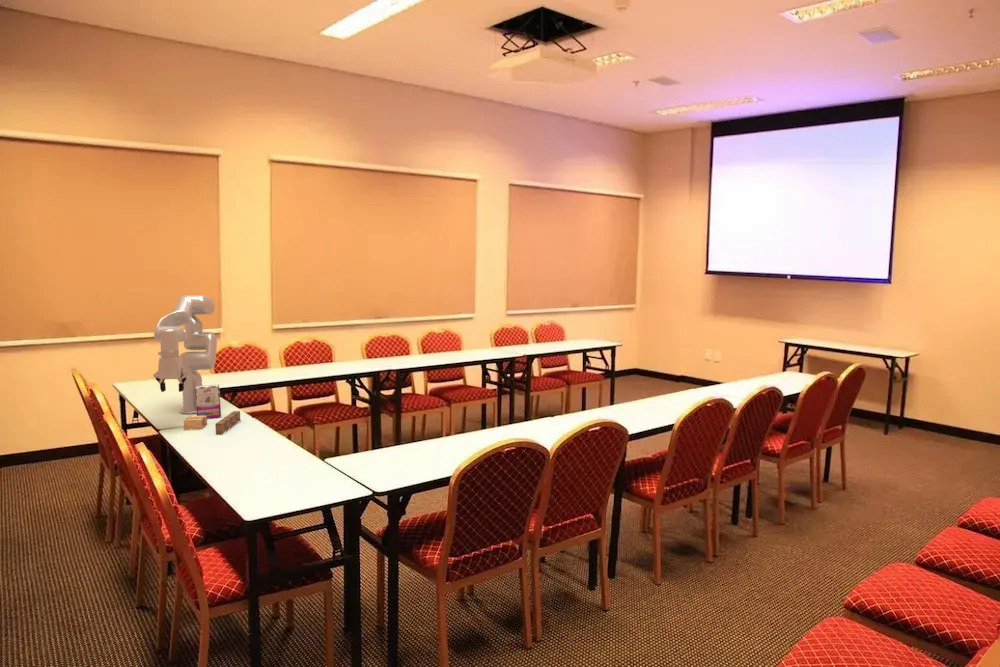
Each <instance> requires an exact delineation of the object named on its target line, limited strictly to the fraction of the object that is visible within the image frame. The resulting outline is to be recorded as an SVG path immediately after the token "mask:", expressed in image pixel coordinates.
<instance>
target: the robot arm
mask: <svg viewBox="0 0 1000 667" xmlns="http://www.w3.org/2000/svg"><path fill="white" fill-rule="evenodd" d="M215 306H216V305H215V302H214V300H213V299H212V298H211V297H210V296H207V295H204V294H186V295H185V294H184V295H181V296H180V297H179V298H178V299H177V301H176V303H175V305H174V307H173V310H172V312H170V313H168V314H166V315H165V316H163V317H161V318H160V319H159V320H158V322H157V323H156V325H155V328H154V332H153V337H154V340H155V341H157V342H159V343H160V351H159V352H158V353H157V356H160V357H159V359H158V364H157V366H158V368H157V371H156V372H155V373H154V374H152V376H153V378H155V380H156V381H157V382H158V384H159V388H160V392H161V393H163V392H166V391H167V390H166V382H165V381H166V380H177V381H178V392H179V393H181V392H182V406H183V408H181V409H180V414H183V413H185V414H184V415H190V414H191V415H193V413H195V414H197V408H196V394H195V387H196V386H203V378H202V375H201V374H200V372H199V371H200V370H203V371H205V370H213V369H214V368H215V365H216V360H217V346H218V345H217V344H218V340H217V336H216V334H215V333H214V332H211V331H203V326H204V324H203V322H202V321H201V319H199V317H198V316H197V315H211V314H213V313H214V311H215V308H216V307H215ZM182 325H184V326H182ZM180 342H183V346H184V349H185V350H188V351H186V352H185V351H184V352H182V353H181V354H180V350H179V348H180V347H179V343H180ZM198 370H199V371H198Z"/></svg>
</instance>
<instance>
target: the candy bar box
mask: <svg viewBox="0 0 1000 667" xmlns="http://www.w3.org/2000/svg"><path fill="white" fill-rule="evenodd" d="M195 394H196V408H197V413H196V416H207V418H209V419H218V418H217V417H220V418H222V410H221V409H222V407H221V392H220V384H210V385H209V384H208V385H207V384H206V385H202V386H196V387H195Z"/></svg>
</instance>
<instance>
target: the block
mask: <svg viewBox="0 0 1000 667" xmlns="http://www.w3.org/2000/svg"><path fill="white" fill-rule="evenodd" d="M206 425H207V426H208V419H207V416H197V415H189V416H187V417H186V418H185V419H183V431H191V430H190V429H202V428H203V429H204V428H206V427H207V426H206ZM205 426H206V427H205ZM203 429H202V430H203Z"/></svg>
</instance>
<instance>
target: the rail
mask: <svg viewBox="0 0 1000 667" xmlns="http://www.w3.org/2000/svg"><path fill="white" fill-rule="evenodd" d="M238 421H240V422H241V411H240V410H233V411H231V412H230V413H229V414H227V415H225V416H224V417H223V418H222V419H220V420H219V421H217V422H216V423H215V435H224V434H225V433H226V432H227V430H228V429H229V428H230V429H232V428H233V427H234V426H235V425H234V424H236V423H237V422H238ZM238 423H239V422H238ZM238 423H237V424H238ZM237 424H236V425H237ZM233 425H234V426H233ZM232 426H233V427H232ZM231 427H232V428H231ZM230 429H229V430H230ZM229 430H228V431H229ZM225 431H226V432H225ZM224 432H225V433H224ZM223 433H224V434H223Z"/></svg>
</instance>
